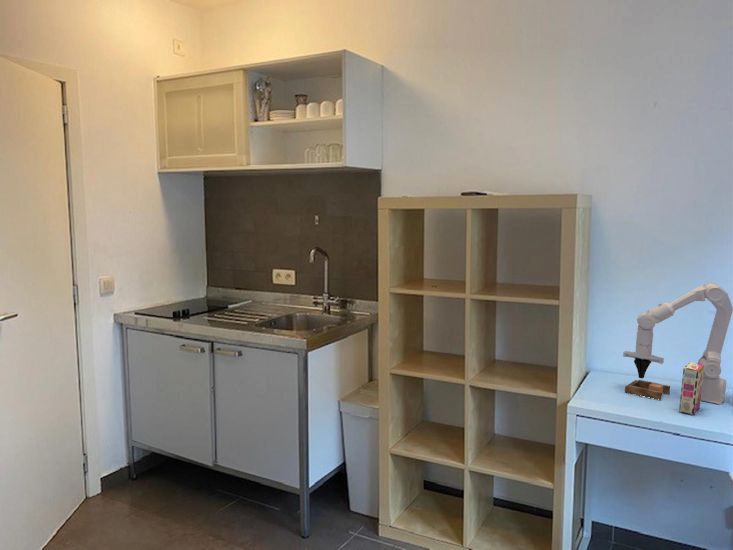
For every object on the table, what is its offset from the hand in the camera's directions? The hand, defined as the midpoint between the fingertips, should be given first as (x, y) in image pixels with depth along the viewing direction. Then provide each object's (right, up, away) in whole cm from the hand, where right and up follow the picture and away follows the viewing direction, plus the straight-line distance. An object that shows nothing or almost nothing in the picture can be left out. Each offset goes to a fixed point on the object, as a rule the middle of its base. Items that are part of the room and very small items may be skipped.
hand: (641, 377), depth 233 cm
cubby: (+2, -6, -1) cm, 6 cm away
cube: (+4, -6, -3) cm, 8 cm away
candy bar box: (+9, -9, -19) cm, 23 cm away
